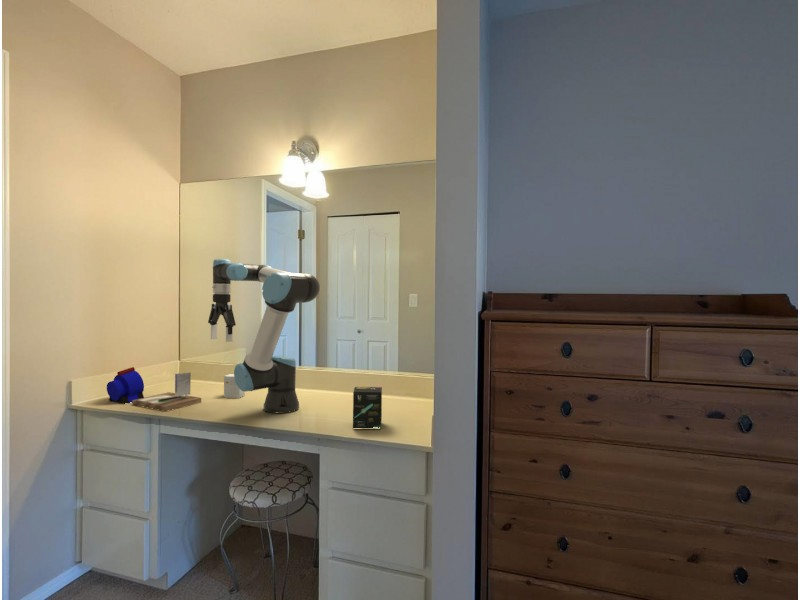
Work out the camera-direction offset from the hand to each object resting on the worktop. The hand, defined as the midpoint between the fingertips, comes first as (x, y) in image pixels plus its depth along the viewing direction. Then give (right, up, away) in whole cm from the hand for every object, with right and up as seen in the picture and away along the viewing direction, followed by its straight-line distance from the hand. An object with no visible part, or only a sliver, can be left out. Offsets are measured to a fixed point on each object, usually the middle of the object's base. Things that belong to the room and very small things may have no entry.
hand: (221, 340), depth 205 cm
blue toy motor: (-45, -28, +2) cm, 53 cm away
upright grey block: (-20, -26, -3) cm, 33 cm away
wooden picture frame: (-24, -28, -1) cm, 37 cm away
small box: (+1, -29, +13) cm, 32 cm away
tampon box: (+68, -31, -29) cm, 80 cm away
